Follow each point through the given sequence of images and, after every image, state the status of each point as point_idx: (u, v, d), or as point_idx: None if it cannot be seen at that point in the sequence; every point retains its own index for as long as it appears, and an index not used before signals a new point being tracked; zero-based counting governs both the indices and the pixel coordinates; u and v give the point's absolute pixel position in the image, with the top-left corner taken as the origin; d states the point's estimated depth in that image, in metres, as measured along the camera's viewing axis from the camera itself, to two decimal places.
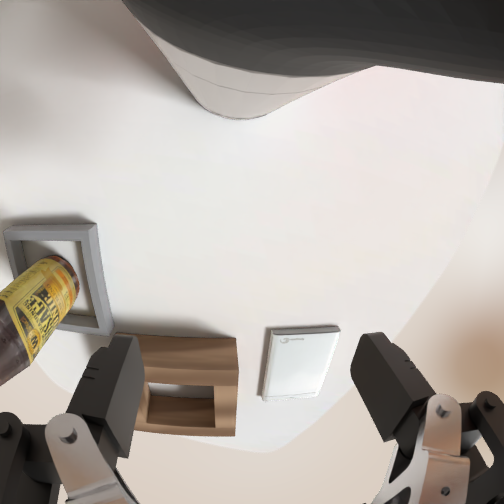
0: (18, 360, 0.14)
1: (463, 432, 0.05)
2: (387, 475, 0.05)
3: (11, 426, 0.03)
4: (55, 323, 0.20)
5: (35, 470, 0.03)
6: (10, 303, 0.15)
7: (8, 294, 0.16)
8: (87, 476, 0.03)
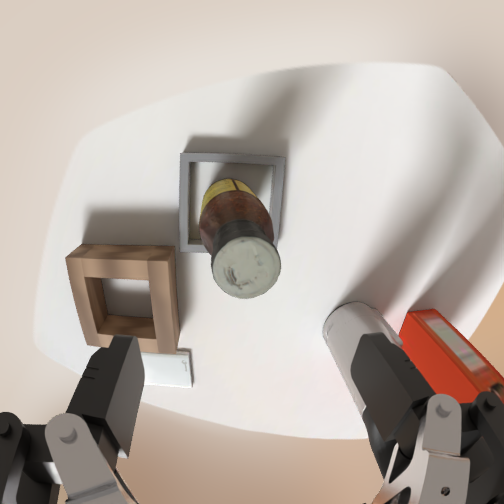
0: None
1: (463, 432, 0.05)
2: (387, 475, 0.05)
3: (11, 426, 0.03)
4: None
5: (35, 470, 0.03)
6: None
7: None
8: (87, 476, 0.03)
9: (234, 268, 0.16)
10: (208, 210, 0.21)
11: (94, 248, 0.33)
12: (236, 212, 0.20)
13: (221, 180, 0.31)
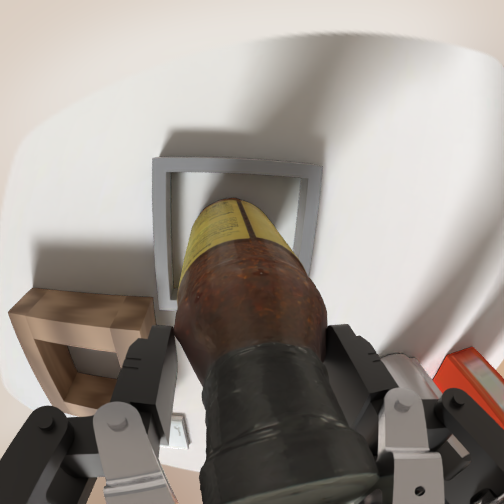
0: None
1: (426, 429, 0.05)
2: None
3: (54, 420, 0.04)
4: None
5: (73, 466, 0.04)
6: None
7: None
8: (132, 466, 0.04)
9: None
10: (190, 294, 0.09)
11: (45, 297, 0.21)
12: (256, 317, 0.08)
13: (220, 203, 0.19)
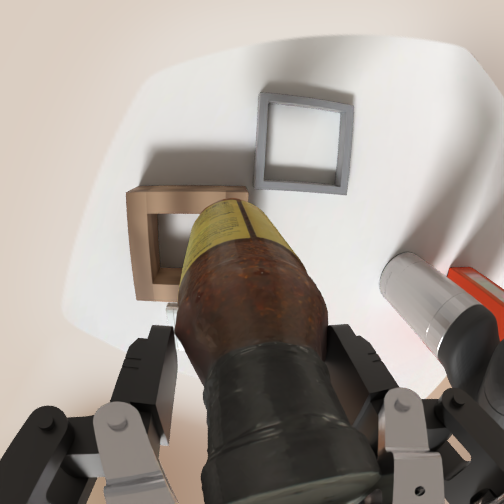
0: None
1: (426, 429, 0.05)
2: None
3: (54, 420, 0.04)
4: None
5: (73, 466, 0.04)
6: None
7: None
8: (132, 465, 0.04)
9: None
10: (191, 294, 0.09)
11: (157, 187, 0.32)
12: (258, 316, 0.08)
13: (220, 203, 0.19)
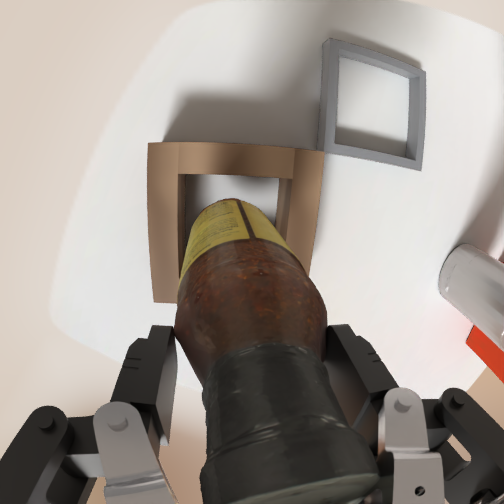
0: None
1: (426, 429, 0.05)
2: None
3: (54, 420, 0.04)
4: None
5: (73, 466, 0.04)
6: None
7: None
8: (132, 466, 0.04)
9: None
10: (190, 295, 0.09)
11: None
12: (257, 317, 0.08)
13: (219, 203, 0.19)
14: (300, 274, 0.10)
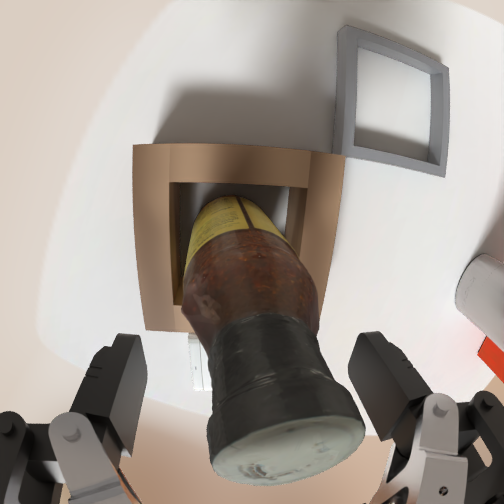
0: None
1: (460, 432, 0.05)
2: (384, 475, 0.05)
3: (14, 425, 0.04)
4: None
5: (38, 469, 0.03)
6: None
7: None
8: (91, 475, 0.03)
9: (264, 464, 0.05)
10: (197, 276, 0.11)
11: None
12: (256, 292, 0.09)
13: (220, 199, 0.20)
14: (293, 258, 0.11)
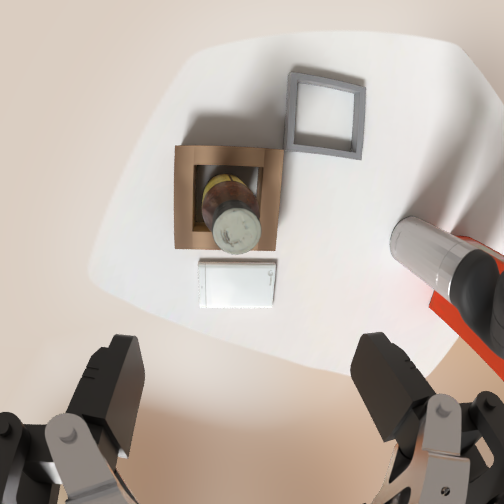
0: None
1: (463, 432, 0.05)
2: (387, 475, 0.05)
3: (11, 426, 0.03)
4: None
5: (35, 470, 0.03)
6: None
7: None
8: (87, 476, 0.03)
9: (228, 231, 0.22)
10: (209, 195, 0.28)
11: None
12: (230, 195, 0.26)
13: (219, 175, 0.37)
14: (247, 189, 0.28)
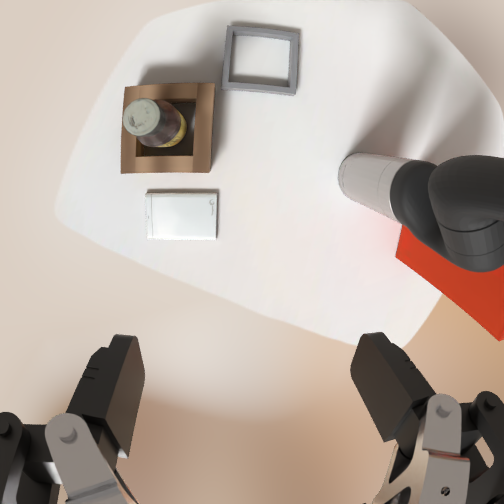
0: (149, 143, 0.30)
1: (463, 432, 0.05)
2: (387, 475, 0.05)
3: (11, 426, 0.03)
4: None
5: (35, 470, 0.03)
6: (178, 133, 0.33)
7: (181, 127, 0.34)
8: (87, 476, 0.03)
9: (134, 116, 0.23)
10: None
11: None
12: None
13: None
14: None
